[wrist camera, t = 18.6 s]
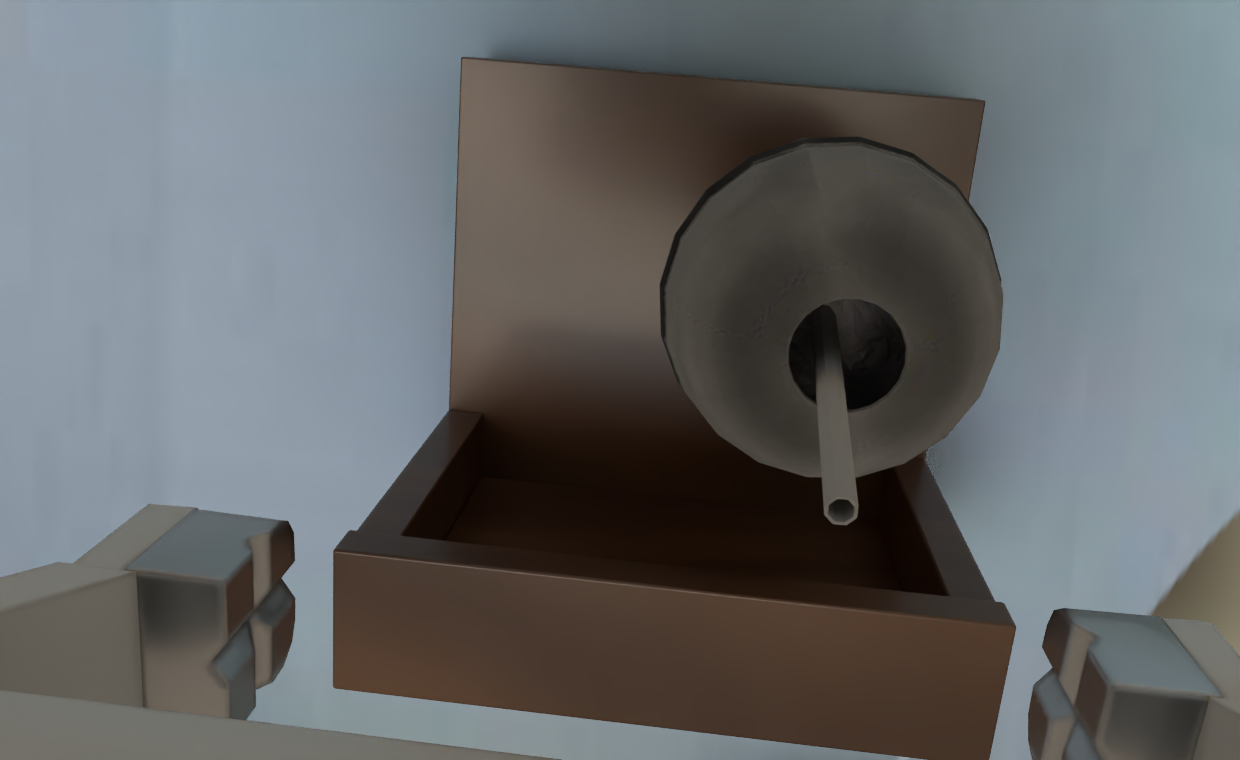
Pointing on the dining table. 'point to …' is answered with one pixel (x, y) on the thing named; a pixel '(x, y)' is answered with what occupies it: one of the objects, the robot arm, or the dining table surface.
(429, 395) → the dining table surface
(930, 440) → the beverage cup
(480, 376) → the shelf
